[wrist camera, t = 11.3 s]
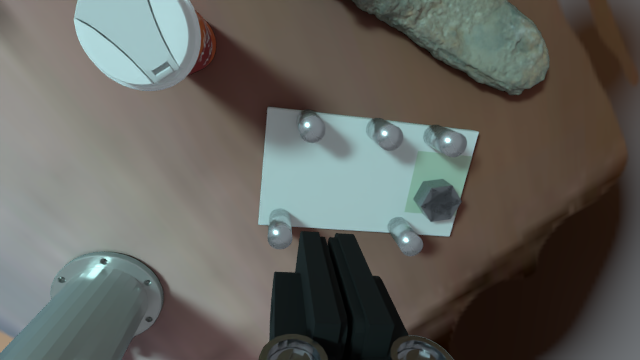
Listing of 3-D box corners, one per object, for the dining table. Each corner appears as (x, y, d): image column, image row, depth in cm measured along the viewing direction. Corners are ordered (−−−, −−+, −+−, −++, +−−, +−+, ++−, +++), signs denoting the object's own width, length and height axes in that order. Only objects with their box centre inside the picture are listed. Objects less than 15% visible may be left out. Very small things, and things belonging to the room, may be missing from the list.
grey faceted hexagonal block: (451, 209, 43) (460, 217, 41) (412, 214, 43) (420, 223, 40) (452, 177, 42) (462, 184, 39) (413, 182, 41) (421, 189, 39)
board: (445, 232, 45) (449, 236, 44) (258, 220, 41) (258, 224, 40) (474, 130, 41) (478, 132, 40) (267, 106, 37) (267, 107, 36)
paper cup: (241, 57, 35) (220, 53, 22) (180, 95, 36) (124, 114, 22) (195, -18, 32) (140, -73, 19) (130, 25, 33) (32, -1, 20)
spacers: (419, 236, 44) (436, 257, 39) (268, 227, 41) (266, 248, 36) (446, 125, 39) (469, 134, 35) (279, 106, 36) (279, 112, 32)
